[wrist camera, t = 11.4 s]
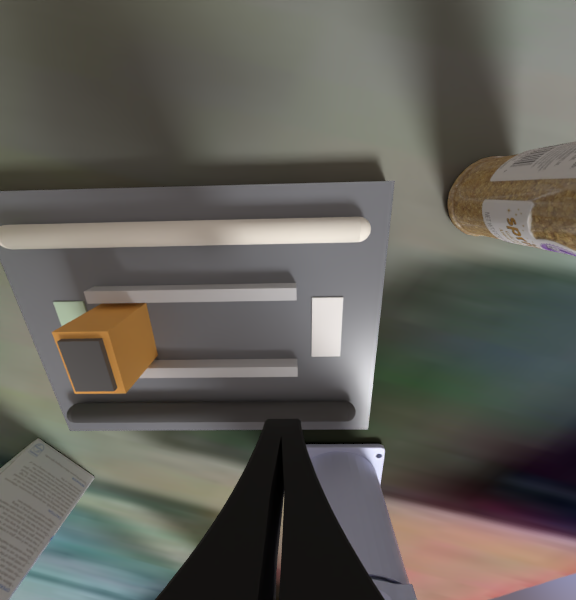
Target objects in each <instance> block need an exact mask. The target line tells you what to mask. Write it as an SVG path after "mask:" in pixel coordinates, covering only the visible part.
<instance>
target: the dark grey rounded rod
mask: <svg viewBox="0 0 576 600" xmlns="http://www.w3.org/2000/svg"><path fill="white" fill-rule="evenodd" d="M355 413H356V411H355V407H354V406H353V404H352V403H350V402H348V401H273V402H127V403H77V404H74V405H72V406H71V407H70V408H69V409H68V411H67V419H68V420H69V421H70V422H72V423H164V422H265V421H266V420H267V419H297V418H298V419H299V420H300V421H301V422H347V421H351V420H352V419H353V418H354V417H355Z"/></svg>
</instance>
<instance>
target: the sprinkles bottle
mask: <svg viewBox="0 0 576 600" xmlns="http://www.w3.org/2000/svg"><path fill="white" fill-rule="evenodd" d="M448 210H449V216H450V218H451V221H452V223H453V224H454V225H455V226H456V227H457V228H458V229H460V231H462V232H464V233H465V234H469V235H473V236H488V237H493V238H497V239H501V240H503V241H506V242H511V243H515V244H520V245H525V246H530V247H535V248H540V249H544V250H549V251H554V252H560V253H564V254H569V255H573V256H576V142H571V143H566V144H560V145H555V146H549V147H544V148H538V149H533V150H529V151H525V152H523V153H520V154H517V155H511V156H491V157H487V158H483V159H480V160H478V161H476V162H475V163H473V164H471V165H470V166H468V167H467V168H466V169H465V170H464V171H463V172H462V173H461V174H460V175H459V176H458V178H457V179H456V181H455V182H454V184H453V186H452V188H451V190H450V192H449V196H448Z"/></svg>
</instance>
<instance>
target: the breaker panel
mask: <svg viewBox="0 0 576 600" xmlns="http://www.w3.org/2000/svg"><path fill="white" fill-rule="evenodd" d="M394 182H395V181H371V182H332V183H294V184H256V185H217V186H179V187H141V188H102V189H64V190H26V191H0V226H3V225H18V224H62V223H105V222H148V221H192V220H235V219H279V218H322V217H363V218H365V219H367V220H368V222H369V223H370V226H371V232H370V234H369V236H368V237H367V239H365V240H364V241H362V242H349V243H301V244H253V245H205V246H157V247H109V248H61V249H7V248H4V247H2V246H0V261H1V264H2V266H3V268H4V271H5V273H6V276H7V278H8V281H9V283H10V286H11V288H12V290H13V293H14V295H15V298H16V300H17V303H18V305H19V308H20V310H21V313H22V315H23V317H24V320H25V322H26V325H27V327H28V330H29V332H30V335H31V337H32V339H33V342H34V344H35V347H36V349H37V352H38V354H39V357H40V359H41V361H42V364H43V366H44V369H45V371H46V374H47V376H48V379H49V381H50V383H51V386H52V388H53V391H54V393H55V396H56V398H57V401H58V403H59V405H60V408H61V410H62V413H63V415H64V418H65V420H66V423H67V425H68V427H69V430H70V431H100V430H262V429H263V426H264V423H265V422H164V423H72V422H70V421H69V420H68V419H67V411H68V409H69V408H70V407H71V406H72V405H74V404H77V403H127V402H273V401H348V402H350V403H352V404H353V406H354V407H355V411H356V413H355V417H354V418H353V419H352V420H351V421H347V422H301V427H302V430H330V429H368V424H369V415H370V406H371V396H372V387H373V378H374V368H375V359H376V350H377V340H378V331H379V322H380V312H381V303H382V294H383V285H384V275H385V266H386V257H387V247H388V238H389V229H390V219H391V210H392V201H393V191H394ZM111 303H146V304H147V309H148V313H149V318H150V322H151V326H152V331H153V335H154V340H155V344H156V349H157V353H158V356H157V357H156V358H155V359H154V361H153V362H152V363H151V364H150V365H149V367H148V368H147V369H146V370H145V371H144V373H143V374H142V375H141V376H140V377H139V379H138V380H137V381H136V382H135V383H134V385H133V386H132V387H131V388H130V389H129V390H128V392H127V393H120V394H75V393H74V390H73V388H72V385H71V382H70V380H69V377H68V374H67V372H66V369H65V366H64V364H63V361H62V358H61V356H60V353H59V351H58V348H57V345H56V343H55V340H54V337H53V335H52V332H53V331H54V330H56V329H58V328H60V327H61V326H63V325H65V324H67V323H68V322H70V321H72V320H74V319H75V318H77V317H79V316H81V315H82V314H84V313H86V312H88V311H89V310H91V309H93V308H95V307H96V306H98V305H100V304H111Z"/></svg>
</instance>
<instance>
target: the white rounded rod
mask: <svg viewBox="0 0 576 600" xmlns="http://www.w3.org/2000/svg"><path fill="white" fill-rule="evenodd" d="M370 232H371V226H370V223H369V222H368V220H367V219H365V218H363V217H322V218H279V219H235V220H192V221H148V222H105V223H62V224H18V225H3V226H0V246H2V247H4V248H7V249H61V248H109V247H157V246H205V245H253V244H301V243H349V242H362V241H364V240H365V239H367V237H368V236H369V234H370Z"/></svg>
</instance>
